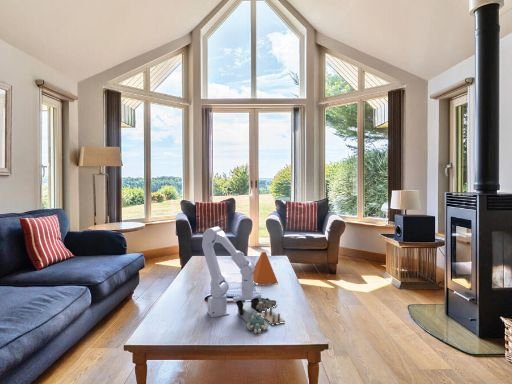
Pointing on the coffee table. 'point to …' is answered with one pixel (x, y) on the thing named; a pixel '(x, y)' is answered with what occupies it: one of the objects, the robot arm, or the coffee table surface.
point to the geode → (264, 304)
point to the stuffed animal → (257, 323)
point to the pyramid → (264, 271)
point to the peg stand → (272, 316)
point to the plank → (247, 312)
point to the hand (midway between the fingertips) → (247, 314)
